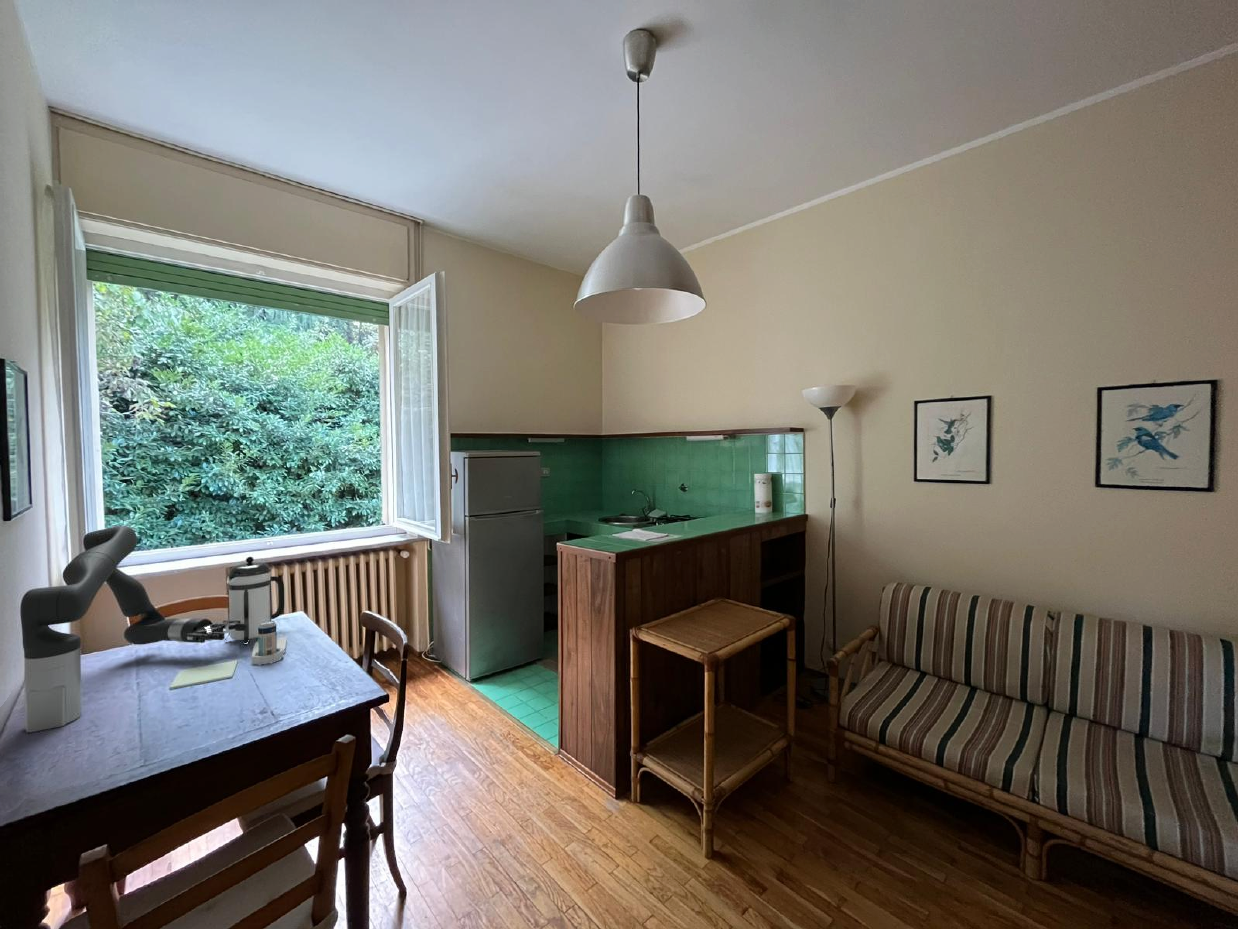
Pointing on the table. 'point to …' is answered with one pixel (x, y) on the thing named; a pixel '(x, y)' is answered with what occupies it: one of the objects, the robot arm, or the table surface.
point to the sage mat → (204, 674)
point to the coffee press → (252, 597)
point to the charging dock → (269, 658)
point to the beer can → (267, 638)
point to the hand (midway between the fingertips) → (235, 631)
